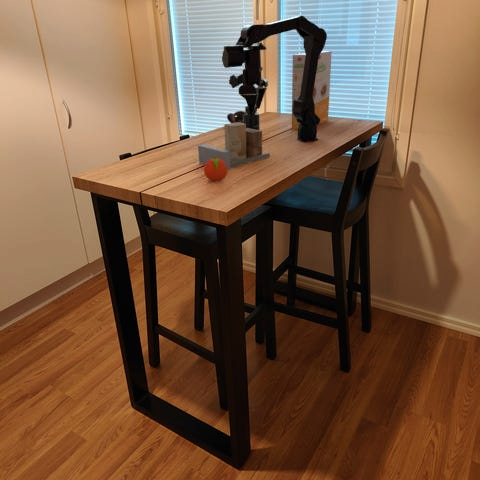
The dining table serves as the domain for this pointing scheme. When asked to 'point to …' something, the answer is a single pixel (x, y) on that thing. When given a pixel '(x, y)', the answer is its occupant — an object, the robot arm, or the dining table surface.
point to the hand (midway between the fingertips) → (254, 111)
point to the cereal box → (320, 85)
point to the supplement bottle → (251, 119)
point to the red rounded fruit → (215, 169)
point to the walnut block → (253, 142)
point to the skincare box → (236, 141)
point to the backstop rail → (223, 156)
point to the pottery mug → (238, 117)
